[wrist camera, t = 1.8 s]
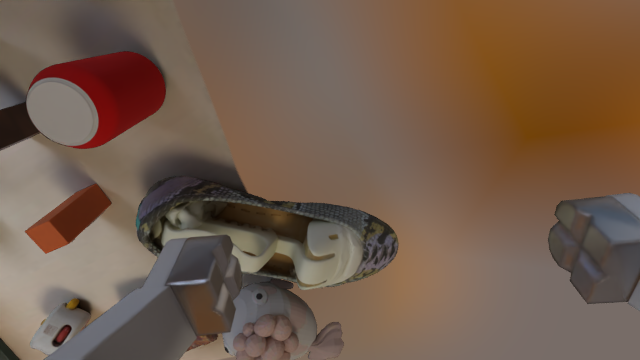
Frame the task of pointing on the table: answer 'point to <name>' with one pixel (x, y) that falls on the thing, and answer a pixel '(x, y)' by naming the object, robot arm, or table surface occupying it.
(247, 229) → the ballet flat
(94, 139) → the beverage can
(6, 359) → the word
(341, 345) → the toy
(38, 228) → the letter S
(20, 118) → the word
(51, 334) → the roller toy
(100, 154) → the table surface
